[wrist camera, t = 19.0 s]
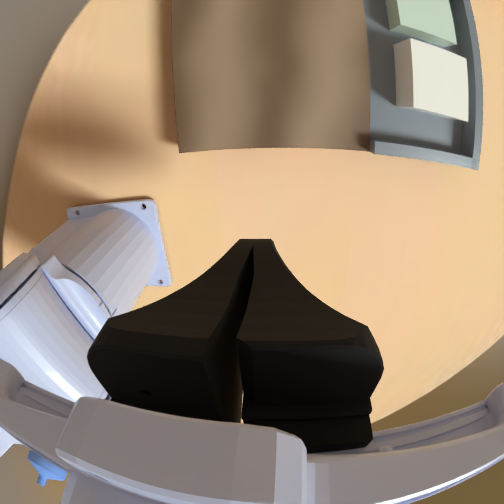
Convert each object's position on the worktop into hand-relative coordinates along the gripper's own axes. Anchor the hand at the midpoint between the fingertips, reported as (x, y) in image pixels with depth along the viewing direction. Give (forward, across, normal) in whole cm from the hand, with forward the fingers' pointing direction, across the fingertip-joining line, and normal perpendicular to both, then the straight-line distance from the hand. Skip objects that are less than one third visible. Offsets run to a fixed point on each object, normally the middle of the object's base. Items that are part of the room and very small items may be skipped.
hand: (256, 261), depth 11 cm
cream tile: (+8, -11, -9) cm, 16 cm away
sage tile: (+8, -11, -14) cm, 20 cm away
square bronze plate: (+9, -1, -11) cm, 14 cm away
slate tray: (+10, -11, -11) cm, 18 cm away
